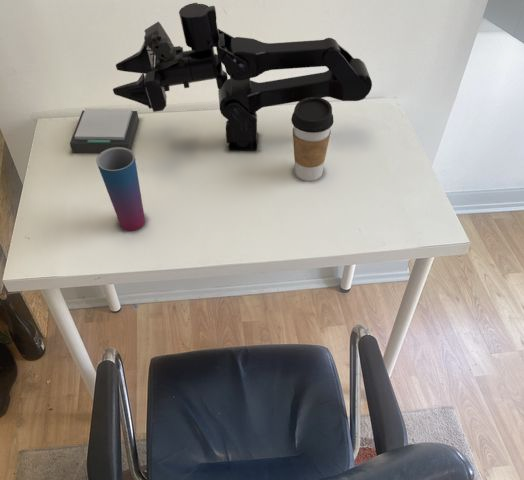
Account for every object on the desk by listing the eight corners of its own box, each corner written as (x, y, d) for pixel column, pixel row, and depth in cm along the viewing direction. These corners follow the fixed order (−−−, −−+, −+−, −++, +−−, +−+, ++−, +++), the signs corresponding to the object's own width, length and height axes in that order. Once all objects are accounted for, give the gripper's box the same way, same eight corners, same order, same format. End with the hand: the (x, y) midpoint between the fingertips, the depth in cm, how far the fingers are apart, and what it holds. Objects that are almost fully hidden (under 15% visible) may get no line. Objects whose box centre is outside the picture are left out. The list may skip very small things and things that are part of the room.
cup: (152, 212, 111) (138, 148, 98) (145, 235, 107) (129, 171, 95) (120, 210, 111) (102, 146, 99) (111, 233, 107) (91, 169, 95)
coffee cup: (332, 164, 119) (339, 100, 107) (321, 188, 114) (328, 123, 102) (295, 157, 121) (298, 92, 108) (284, 180, 116) (286, 115, 104)
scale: (139, 120, 129) (136, 107, 127) (129, 153, 122) (126, 141, 119) (85, 119, 130) (81, 107, 127) (72, 152, 122) (68, 140, 120)
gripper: (181, 2, 107) (104, 15, 108) (181, 49, 97) (96, 63, 97) (193, 58, 116) (122, 69, 117) (195, 107, 106) (117, 119, 106)
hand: (114, 79), depth 109 cm, fingers open, 9 cm apart
